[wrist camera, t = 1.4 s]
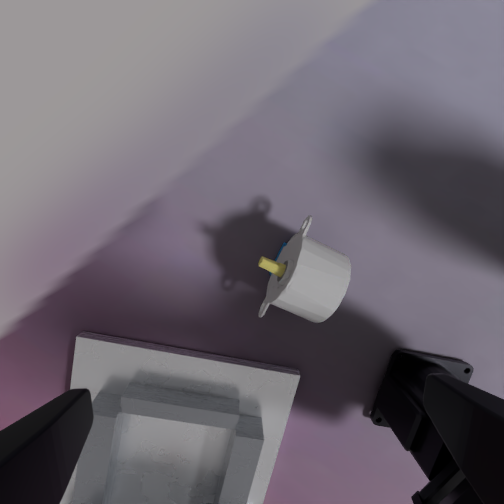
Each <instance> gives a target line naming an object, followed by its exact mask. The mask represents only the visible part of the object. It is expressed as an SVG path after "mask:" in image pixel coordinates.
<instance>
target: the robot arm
mask: <svg viewBox="0 0 504 504" xmlns="http://www.w3.org/2000/svg"><path fill="white" fill-rule="evenodd" d="M401 355H402V356H401ZM399 356H401V357H400V358H399ZM472 373H473V367H472V366H471V365H470V364H468V363H467V362H463V361H458V360H453V359H447V358H442V357H437V356H432V355H427V354H421V353H416V352H411V351H406V350H396V351H394V352H393V354H392V357H391V360H390V362H389V365H388V368H387V371H386V373H385V376H384V379H383V381H382V384H381V387H380V390H379V392H378V395H377V398H376V401H375V404H374V407H373V410H372V412H371V415H370V418H371V420H372V422H373V423H374V424H375V425H378V426H384V427H390V428H391V429H392V430H393V432H394V434H395V435H396V437H397V438H398V440H399V441H400V443H401V444H402V446H403V447H404V449H405V450H406V451H410V452H411V454H412V455H413V457H414V458H415V460H416V461H417V463H418V464H419V466H420V467H421V469H422V470H423V472H424V473H425V475H426V476H427V478H428V479H429V481H430V482H429V483H428V484H427V485H426V486H425V487H424V488H423V489H422V490H421V491H420V492H419V491H417V492H416V493H415V494H414V495H413V496H412V497H411V498H412V501H413V503H414V504H504V399H501V398H499V397H497V396H495V395H492V394H490V393H488V392H485V391H483V390H481V389H479V388H476V387H474V386H472V385H470V384H468V382H469V380H470V378H471V375H472ZM378 417H379V418H378ZM376 418H377V419H376ZM93 419H94V414H93V407H92V400H91V393H90V391H89V389H87V388H78V389H70V390H68V391H67V392H65V393H63V394H62V395H60V396H58V397H57V398H55V399H53V400H52V401H50V402H48V403H47V404H45V405H43V406H42V407H40V408H38V409H37V410H35V411H33V412H31V413H30V414H28V415H26V416H25V417H23V418H21V419H20V420H18V421H16V422H15V423H13V424H11V425H10V426H8V427H6V428H5V429H3V430H1V431H0V504H60V502H61V500H62V498H63V496H64V493H65V491H66V489H67V486H68V484H69V482H70V479H71V477H72V474H73V472H74V469H75V467H76V464H77V462H78V459H79V457H80V454H81V452H82V450H83V447H84V445H85V442H86V440H87V437H88V435H89V432H90V430H91V427H92V424H93Z"/></svg>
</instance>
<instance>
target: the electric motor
mask: <svg viewBox="0 0 504 504" xmlns="http://www.w3.org/2000/svg"><path fill="white" fill-rule="evenodd" d="M311 221H312V216H308V217H307V218H306V219H305V220H304V222H303V224H302V226H301V228H300V230H299V232H298V233H297V234H295V235H294V236H293V237H292V238H291V239H290V240H289V242H288V243H285V242H284V243H283V245H282V247H281V249H280V251H279V253H278V255H277V257H276V259H275V261H273V260H270V259H268V258H265V257H263V256H262V257H261V258H260V260H259V263H258V265H259V266H260V267H262V268H264V269H266V270H268V271H269V274H270V276H271V277H270V280H269V282H268V286H267V292H266V294H267V295H266V298H265V299H264V301H263V303H262V305H261V307H260V310H259V317H262V316H263V315H264V314H265V312H266V310H267V308H268V306H269V304H272V305H275V306H277V307H279V308H282V309H284V310H286V311H289V312H291V313H293V314H296V315H298V316H300V317H302V318H305V319H307V320H309V321H312V322H315V323H320V322H323V321H325V320H326V319H328V318H329V317H330V316H331V315H332V314H333V313H334V312H335V310H336V309H337V308H338V307H339V305H340V303H341V301H342V299H343V297H344V295H345V293H346V290H347V287H348V284H349V281H350V274H351V264H350V261H349V258H348V257H347V256H346V255H345V254H343V253H341V252H339V251H336V250H334V249H332V248H330V247H328V246H326V245H324V244H322V243H320V242H318V241H316V240H314V239H312V238H310V237H308V236H306V233H307V231H308V229H309V226H310V224H311ZM306 223H307V224H306ZM305 225H306V227H305ZM304 227H305V228H304ZM263 307H264V308H263ZM262 310H263V311H262Z"/></svg>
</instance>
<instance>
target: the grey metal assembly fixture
mask: <svg viewBox="0 0 504 504" xmlns="http://www.w3.org/2000/svg"><path fill="white" fill-rule="evenodd" d="M299 379H300V373H299V370H298V369H294V368H289V367H283V366H278V365H272V364H266V363H261V362H255V361H249V360H244V359H238V358H232V357H227V356H221V355H216V354H210V353H204V352H199V351H193V350H187V349H182V348H176V347H170V346H165V345H159V344H154V343H148V342H142V341H137V340H131V339H125V338H120V337H114V336H109V335H103V334H97V333H92V332H86V331H82V332H81V333H80V334H79V335H78V336H76V344H75V352H74V361H73V369H72V377H71V386H70V389H78V388H87V389H89V391H90V393H91V400H92V407H93V414H94V419H93V424H92V427H91V430H90V432H89V435H88V437H87V440H86V442H85V445H84V447H83V450H82V452H81V454H80V457H79V459H78V462H77V464H76V467H75V469H74V472H73V474H72V477H71V479H70V482H69V484H68V486H67V489H66V491H65V493H64V496H63V498H62V500H61V502H60V504H263V501H264V498H265V494H266V491H267V488H268V484H269V481H270V477H271V474H272V471H273V467H274V464H275V460H276V457H277V454H278V450H279V447H280V444H281V440H282V437H283V433H284V430H285V427H286V423H287V420H288V416H289V413H290V410H291V406H292V403H293V400H294V396H295V393H296V389H297V386H298V383H299Z"/></svg>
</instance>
